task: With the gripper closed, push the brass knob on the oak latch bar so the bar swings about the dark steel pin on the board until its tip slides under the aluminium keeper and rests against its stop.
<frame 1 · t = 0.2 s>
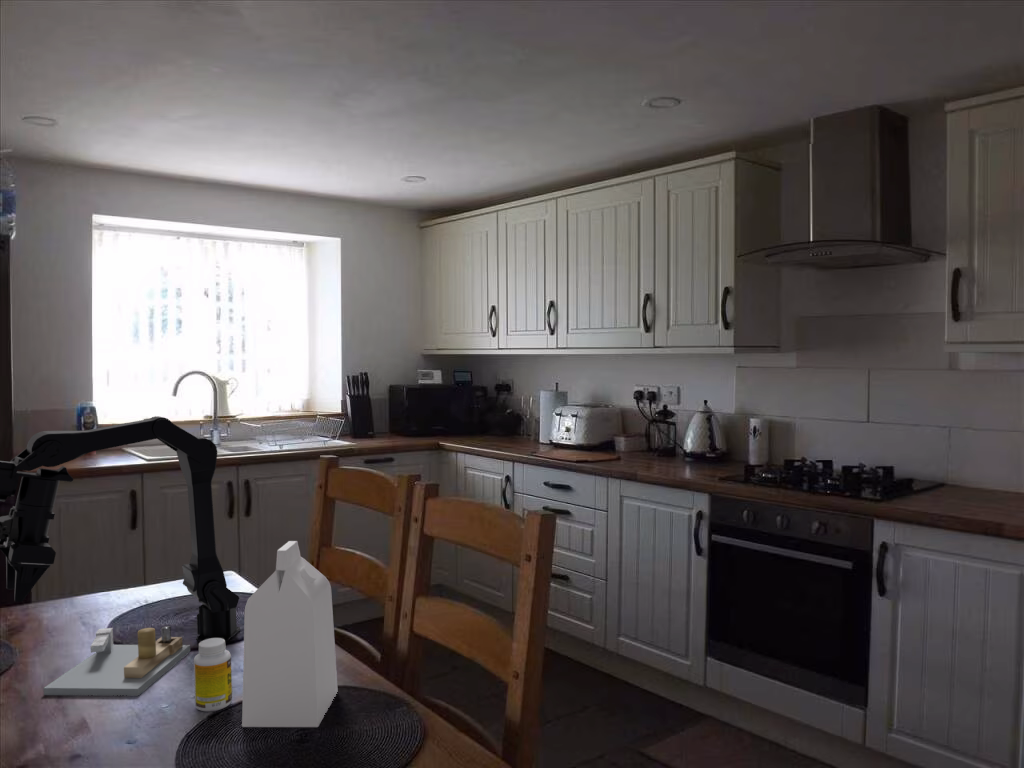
hand: (14, 595, 136), 15 cm above the table, tool pointing down, fingers open, 9 cm apart
board: (121, 671, 141), on the table
milk: (292, 709, 126), on the table
latch bar: (152, 644, 142), point 4 cm above the table, hinge at 70.0°
keeper: (105, 657, 148), resting on board
supplement bottle: (214, 706, 127), on the table
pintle: (167, 657, 147), resting on board
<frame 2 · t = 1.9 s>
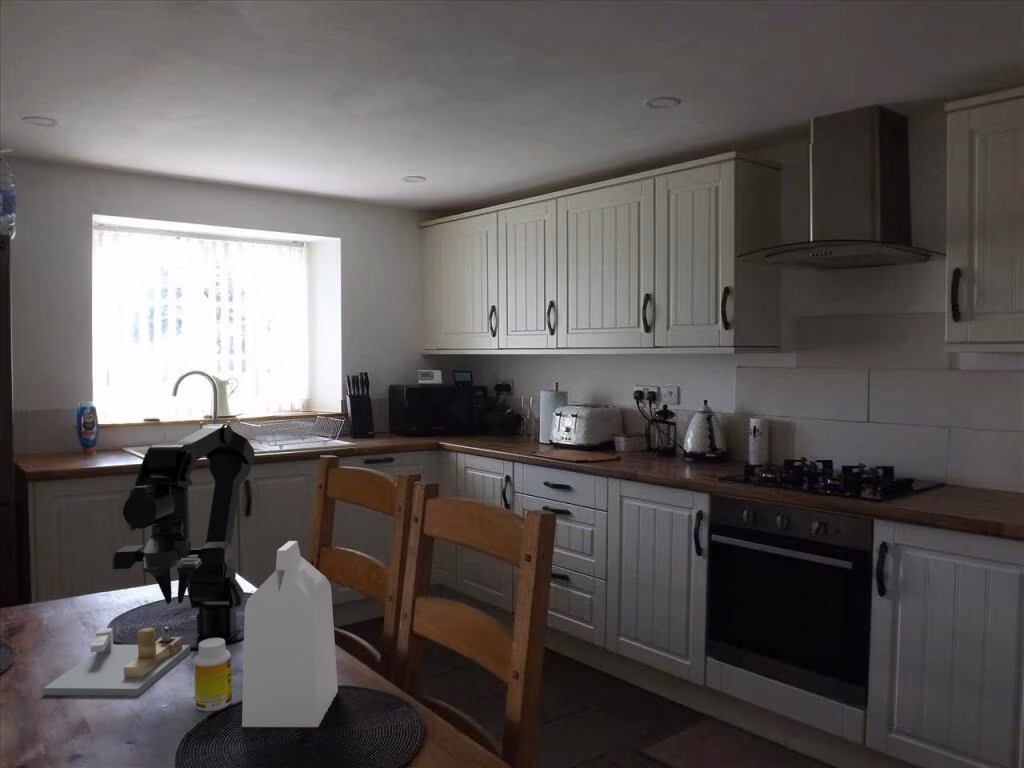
hand: (174, 603, 141), 12 cm above the table, tool pointing down, fingers closed
nothing on the table moved.
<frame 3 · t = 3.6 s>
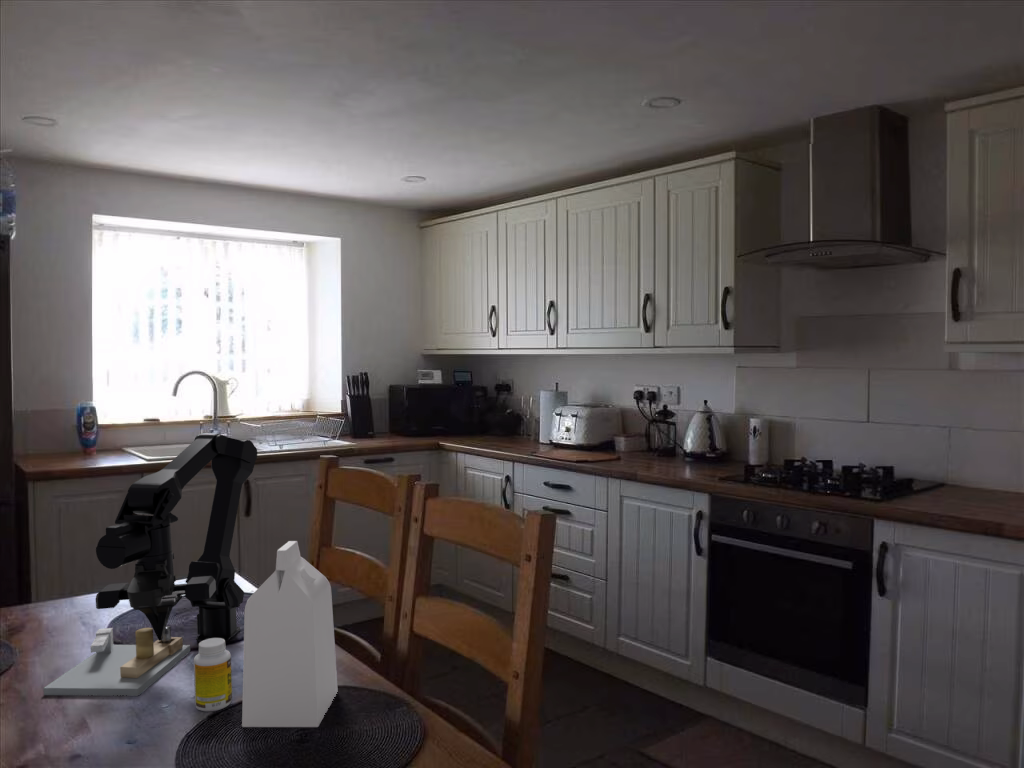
hand: (160, 639, 141), 6 cm above the table, tool pointing down, fingers closed
latch bar: (151, 644, 142), point 4 cm above the table, hinge at 66.7°, touching gripper
everything else where it was.
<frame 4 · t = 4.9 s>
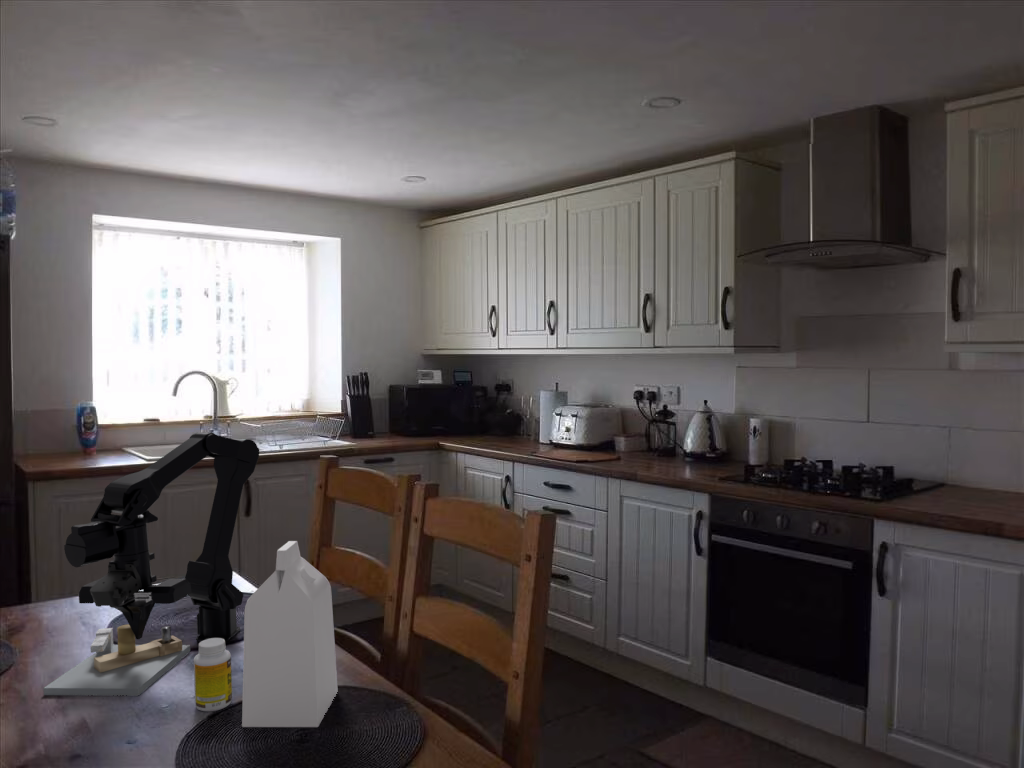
hand: (139, 638, 142), 6 cm above the table, tool pointing down, fingers closed
latch bar: (138, 641, 143), point 4 cm above the table, hinge at 28.7°, touching gripper
everything else where it was.
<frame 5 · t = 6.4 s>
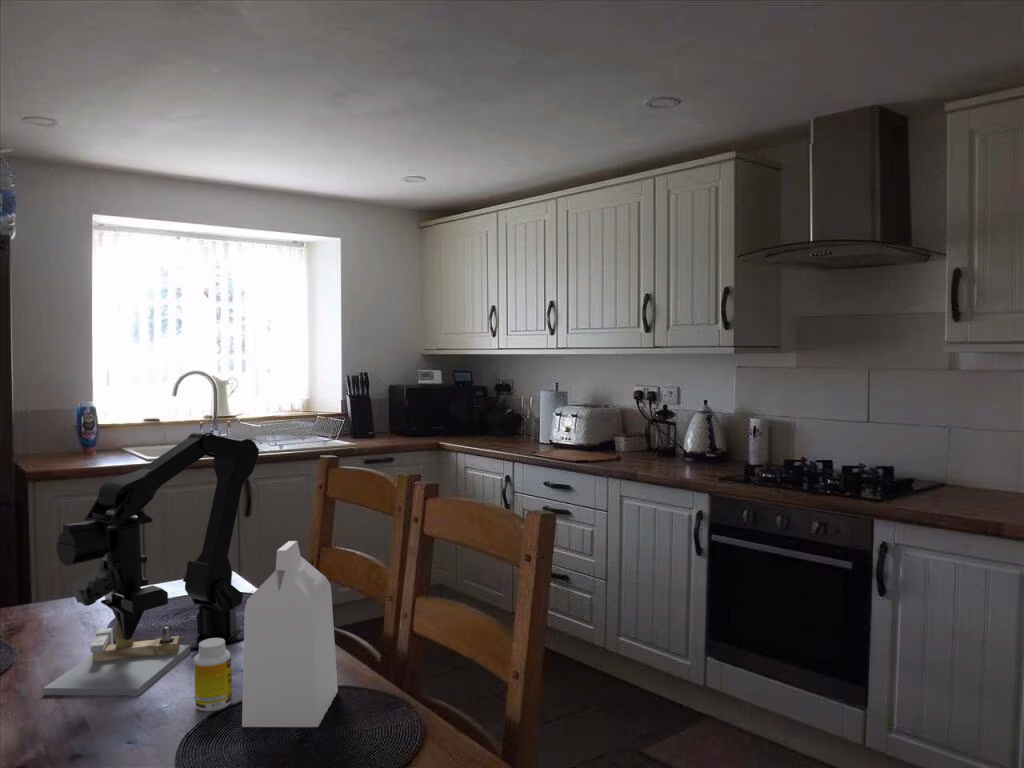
hand: (127, 639, 142), 6 cm above the table, tool pointing down, fingers closed
latch bar: (136, 637, 146), point 4 cm above the table, hinge at 0.2°
everything else where it was.
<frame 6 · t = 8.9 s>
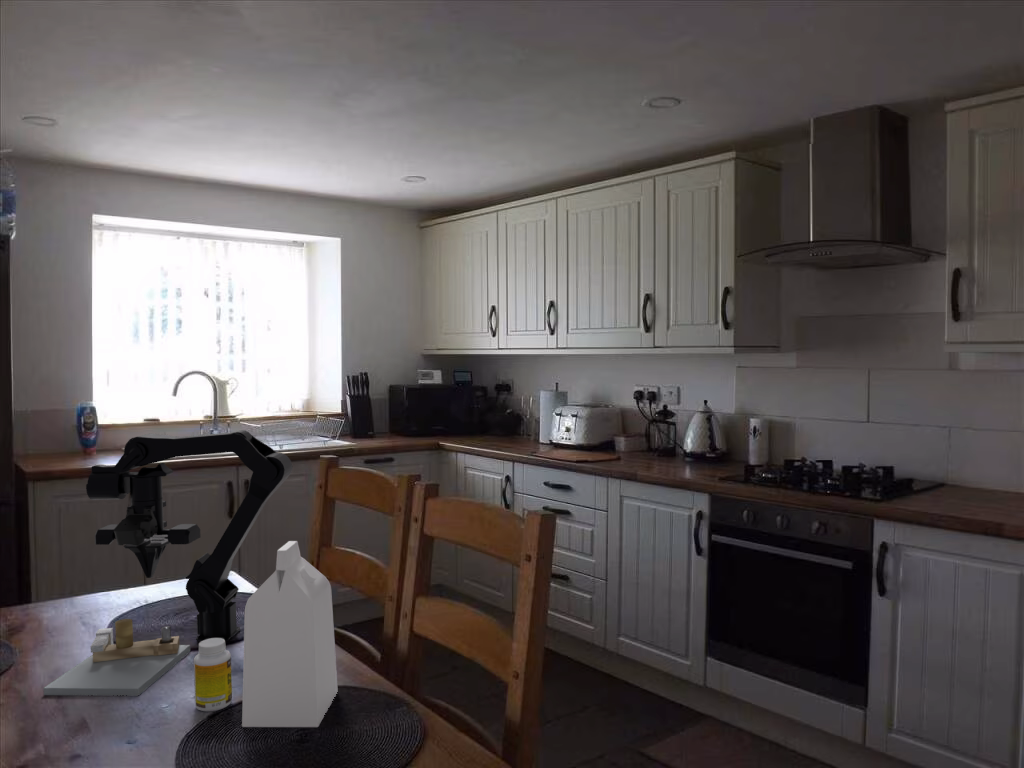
hand: (149, 577, 157), 12 cm above the table, tool pointing down, fingers closed
nothing on the table moved.
at the end: latch bar at +0° (first picture: +70°); the gripper is holding nothing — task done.
